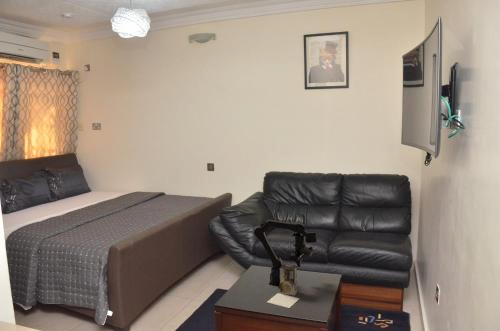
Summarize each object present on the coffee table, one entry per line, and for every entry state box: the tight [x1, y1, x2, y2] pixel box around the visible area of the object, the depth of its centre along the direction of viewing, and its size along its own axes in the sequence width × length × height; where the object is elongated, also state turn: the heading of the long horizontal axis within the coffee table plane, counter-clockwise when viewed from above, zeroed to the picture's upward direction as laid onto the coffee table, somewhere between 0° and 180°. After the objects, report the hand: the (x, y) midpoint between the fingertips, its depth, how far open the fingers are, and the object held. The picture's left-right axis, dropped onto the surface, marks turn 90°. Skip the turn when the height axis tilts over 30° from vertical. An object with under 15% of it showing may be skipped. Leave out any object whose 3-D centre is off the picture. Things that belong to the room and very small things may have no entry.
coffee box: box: [279, 264, 298, 297], centre depth 232 cm, size 9×6×16 cm
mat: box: [266, 292, 300, 309], centre depth 223 cm, size 14×14×1 cm
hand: (299, 267), depth 245 cm, fingers closed
